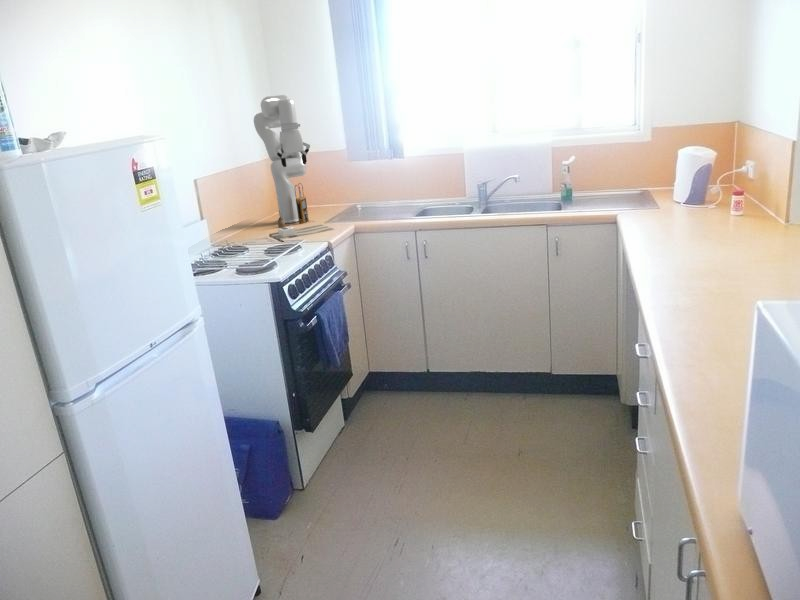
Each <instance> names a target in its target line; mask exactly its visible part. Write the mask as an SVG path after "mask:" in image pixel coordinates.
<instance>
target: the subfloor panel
mask: <svg viewBox="0 0 800 600" xmlns="http://www.w3.org/2000/svg"><path fill="white" fill-rule="evenodd" d="M295 230H296V235H291V236H286V237H282V236H279V233H278V232H272V233H269V234H268V237H269V238H272V239H274V240H276V241H278V242H281V243H285V242H284V240H286V239H293V238H297V237H302V236H309V235H313V234H319V233H324V232H328V231H335V230H336V228H334V227H330V226H326V225H324V224H317V225H311V226H306V227H300V228H295Z"/></svg>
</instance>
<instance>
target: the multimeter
mask: <svg viewBox="0 0 800 600" xmlns="http://www.w3.org/2000/svg"><path fill="white" fill-rule="evenodd" d="M300 185H301V186H300ZM294 187H298V194H299V197H298V198H297V197H296V205H297V212H298V219H299V222H298V224H299V225H304V224H308V223H310V221H309V220H310V217H309V213H308V212H309V211H308V204H307V197H306V196H305V195H304V193H302V192H301V189H302V190H304V187H303V184H302V183H300V182H299V183H298V184H296V185H294ZM301 187H302V188H301ZM296 193H297V192H296V191H295V195H296V196H297V194H296ZM302 195H303V196H302ZM307 222H308V223H307Z"/></svg>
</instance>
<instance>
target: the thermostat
mask: <svg viewBox="0 0 800 600" xmlns="http://www.w3.org/2000/svg"><path fill="white" fill-rule="evenodd" d="M295 229H296V227H293V226H285V228H280V229H279V228H277V231H278V232H277V233H279V236H282V237H286V236H291V235H296V230H295Z"/></svg>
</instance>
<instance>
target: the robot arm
mask: <svg viewBox="0 0 800 600" xmlns="http://www.w3.org/2000/svg"><path fill="white" fill-rule="evenodd" d="M260 111H261V112H259V113H256V114H255V115H254V116H253V126H254V128H255V129H254V130H255V131H256V133H257V134H258V136H259V138H260V139H261V140H262V142H263V144H264V146H265V150H266V151H267V154H268V158H269V159H270V161H271V164H270V171H271V174H272V179H273V182H274V188H275V193H276V201H277V206H278V210H279V209H280V212H281V217H282V218H283V219H284V222H285V223H289V224H293V223H292V222H296V223H298V222H297V221H299V219H298V212H297V205H296V198H297V194H296V195H295V192H296V187H295V185H294V183H293V182H291V181H290V180H289V179H291V178H292V179H293V178H298V177H302V176H305V174H306V173H307V165H306V164H307V154H308V152H309V150H310V147H311V144H309V143H306V142H303V138H302V134H301V131H300V129H299V128H300V127H301V124H300V123H298V121H297V112H296V107H295V102H294V100H293V99H290V98H289V97H288V96H287V95H286V94H282V95H279V94H278V95H270V96H265V97H263V99H262V100H261V102H260ZM276 128H277V129H278V128H280V129H281V131H279V134H278V133H276V132H275V131H274V130H272V129H276ZM304 148H305V149H304ZM276 222H277V223H278V220H277V221H276Z"/></svg>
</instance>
